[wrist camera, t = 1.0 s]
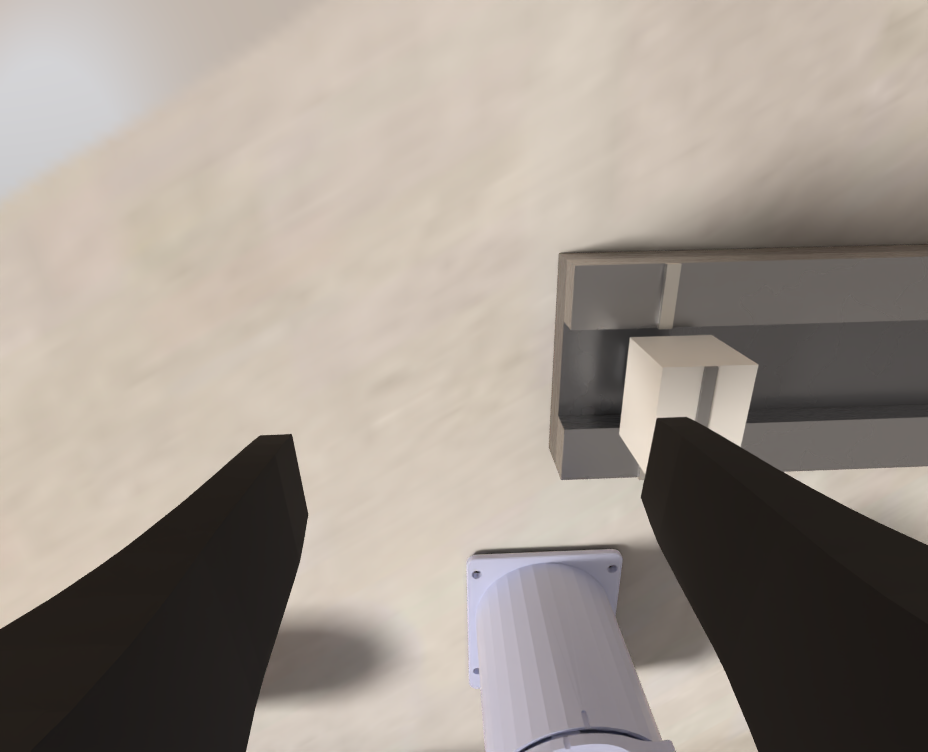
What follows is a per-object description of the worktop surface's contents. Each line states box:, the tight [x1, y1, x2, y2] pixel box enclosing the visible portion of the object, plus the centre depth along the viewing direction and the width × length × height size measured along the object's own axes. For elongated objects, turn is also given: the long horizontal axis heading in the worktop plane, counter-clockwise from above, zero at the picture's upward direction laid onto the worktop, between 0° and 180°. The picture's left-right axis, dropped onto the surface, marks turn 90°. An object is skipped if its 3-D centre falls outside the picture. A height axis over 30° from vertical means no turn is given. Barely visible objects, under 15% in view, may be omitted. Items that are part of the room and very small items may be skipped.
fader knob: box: [619, 335, 758, 474], centre depth 19 cm, size 4×3×5 cm
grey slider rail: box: [549, 244, 928, 480], centre depth 21 cm, size 9×23×3 cm, turn 91°
